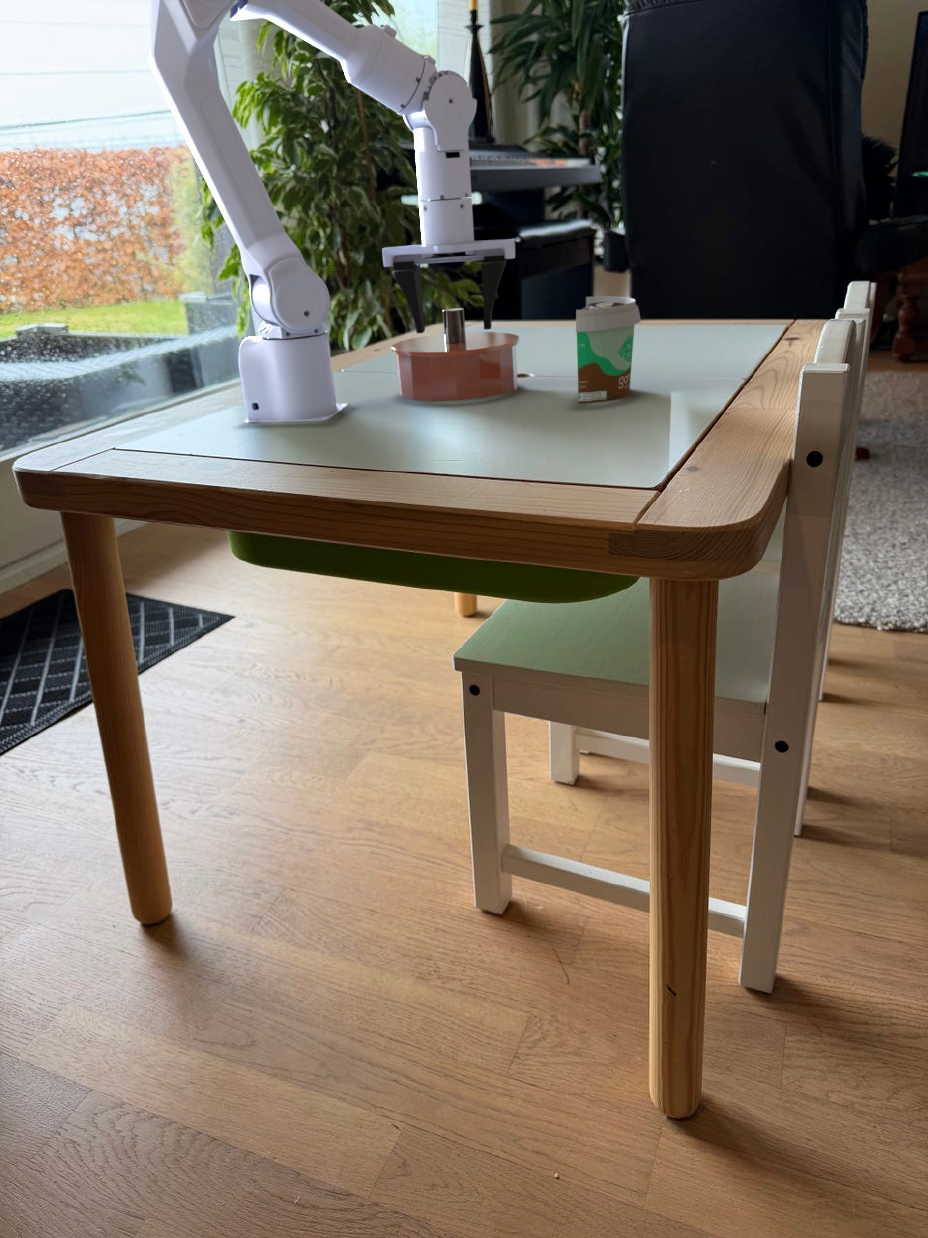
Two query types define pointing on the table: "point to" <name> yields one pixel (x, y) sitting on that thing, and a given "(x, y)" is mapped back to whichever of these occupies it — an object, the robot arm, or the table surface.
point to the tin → (457, 376)
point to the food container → (605, 347)
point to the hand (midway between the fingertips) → (454, 330)
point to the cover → (455, 340)
